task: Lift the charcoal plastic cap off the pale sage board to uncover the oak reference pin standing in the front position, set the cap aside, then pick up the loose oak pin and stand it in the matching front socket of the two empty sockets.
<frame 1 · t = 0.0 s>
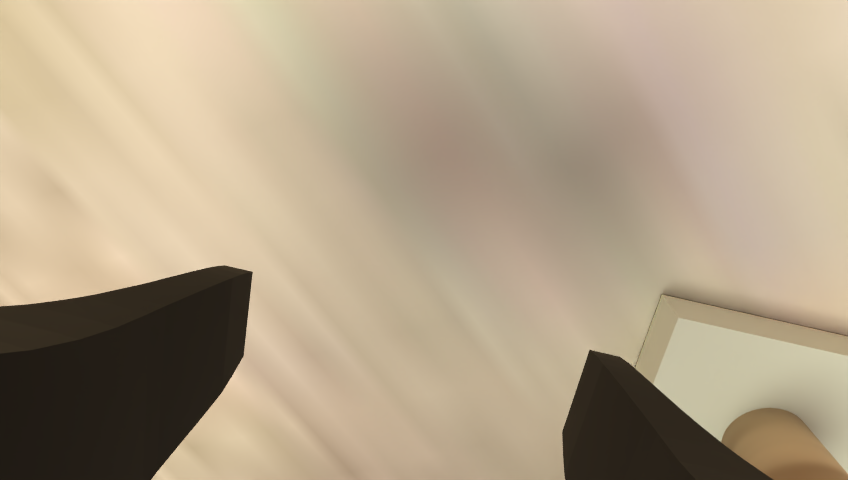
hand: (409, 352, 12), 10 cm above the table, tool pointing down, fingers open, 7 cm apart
pin: (765, 443, 21), point 2 cm above the table, touching pin board
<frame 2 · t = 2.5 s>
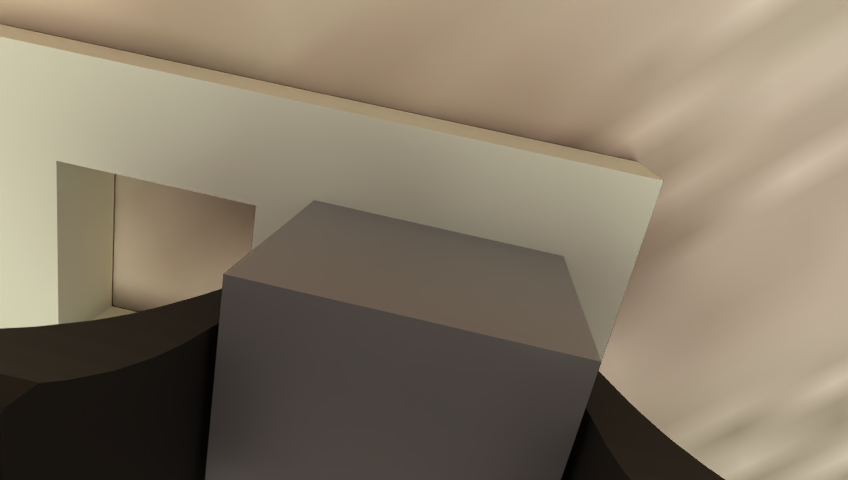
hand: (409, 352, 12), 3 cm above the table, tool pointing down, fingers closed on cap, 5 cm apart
pin board: (187, 350, 16), on the table
cap: (413, 339, 12), point 2 cm above the table, touching gripper, pin board
when the fingers open (4 cm above the table, at t = 5.5 s): cap stays where it is, resting on pin board.
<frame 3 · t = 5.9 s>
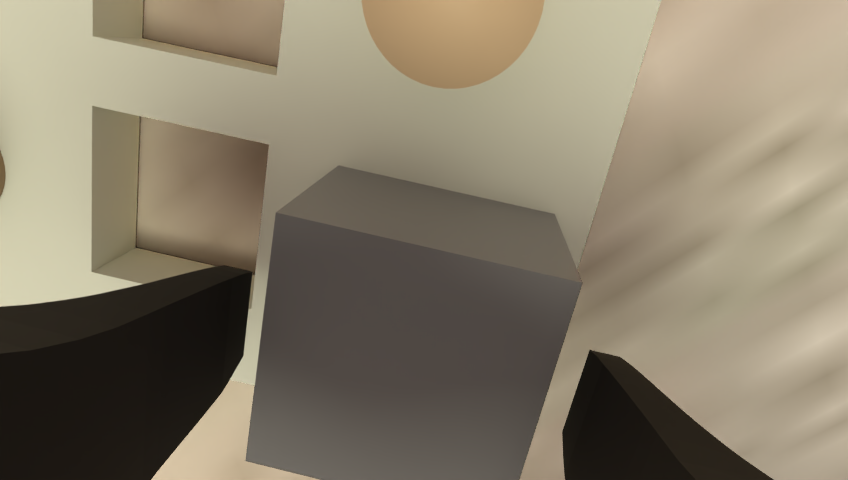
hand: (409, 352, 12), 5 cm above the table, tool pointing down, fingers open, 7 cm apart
pin board: (220, 86, 15), on the table
cap: (423, 288, 14), point 2 cm above the table, touching pin board
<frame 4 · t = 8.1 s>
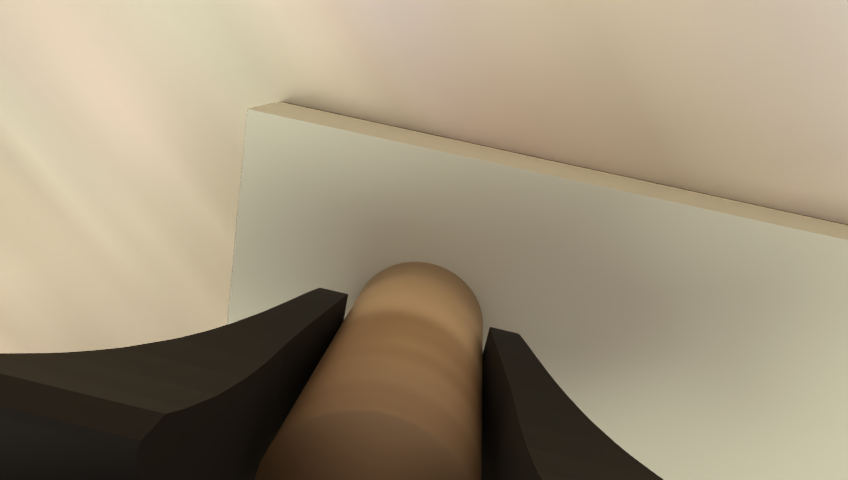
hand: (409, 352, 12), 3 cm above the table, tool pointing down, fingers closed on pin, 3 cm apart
pin: (417, 323, 13), point 2 cm above the table, touching gripper, pin board
when the fingers open (2 cm above the table, at t = 11.2 s): pin drops 1 cm, resting in pin board.
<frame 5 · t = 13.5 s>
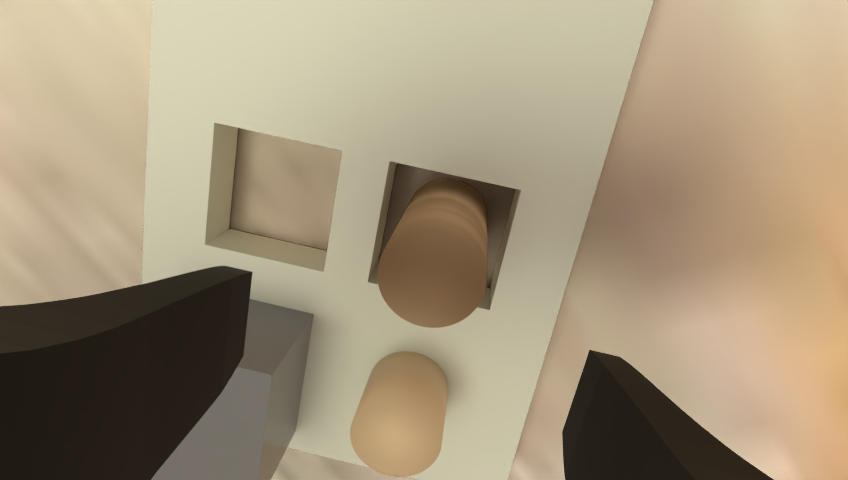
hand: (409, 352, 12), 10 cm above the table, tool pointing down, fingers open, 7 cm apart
pin board: (367, 204, 21), on the table
pin: (447, 218, 21), resting in pin board
cap: (238, 358, 22), point 2 cm above the table, touching pin board
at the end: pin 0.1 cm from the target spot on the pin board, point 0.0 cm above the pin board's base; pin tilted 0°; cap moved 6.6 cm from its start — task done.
